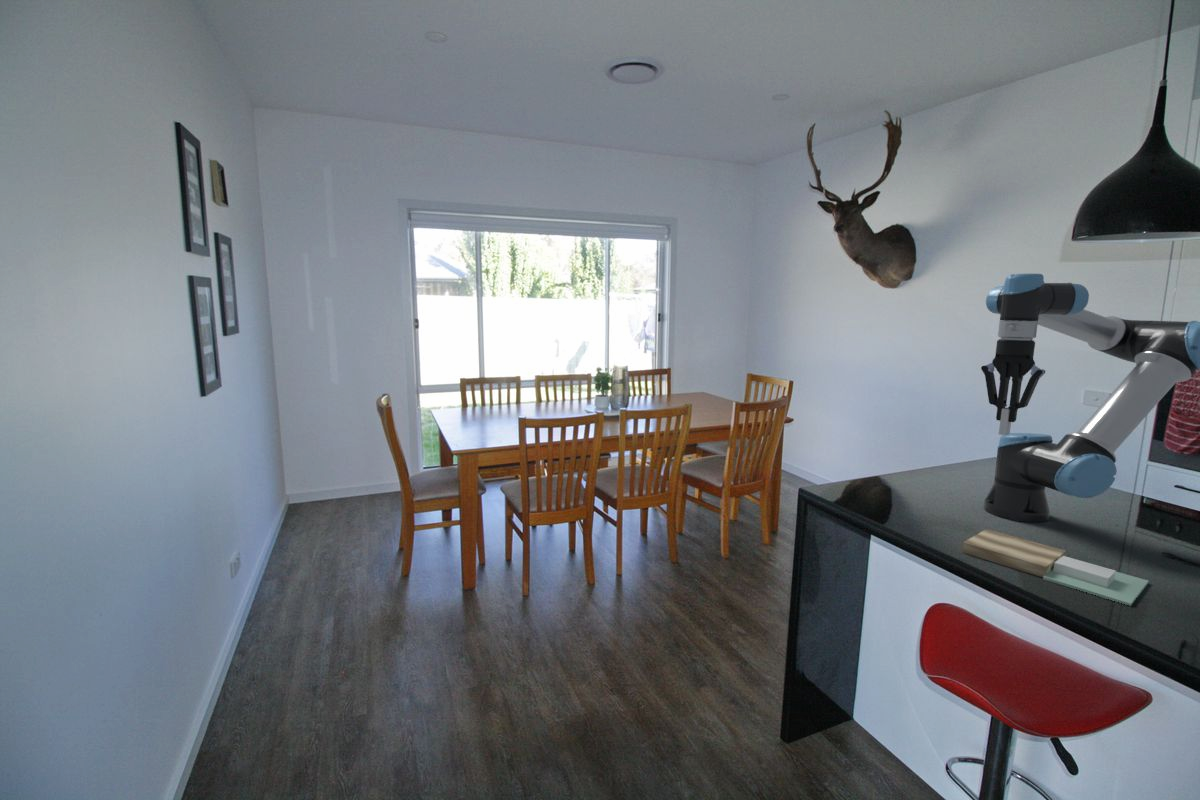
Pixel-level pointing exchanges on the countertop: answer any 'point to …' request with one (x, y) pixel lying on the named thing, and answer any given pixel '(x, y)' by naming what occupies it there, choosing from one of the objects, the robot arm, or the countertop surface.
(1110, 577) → the white rectangular block
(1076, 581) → the mat
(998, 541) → the wooden board
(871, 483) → the countertop surface
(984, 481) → the countertop surface
